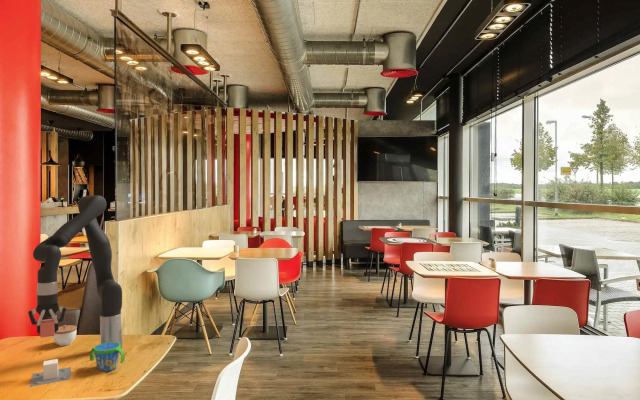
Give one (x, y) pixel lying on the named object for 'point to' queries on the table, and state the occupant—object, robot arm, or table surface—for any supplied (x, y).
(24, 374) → the table surface
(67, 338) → the lidded jar
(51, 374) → the cream brick
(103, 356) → the snack cup
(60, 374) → the base plate
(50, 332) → the red brick
